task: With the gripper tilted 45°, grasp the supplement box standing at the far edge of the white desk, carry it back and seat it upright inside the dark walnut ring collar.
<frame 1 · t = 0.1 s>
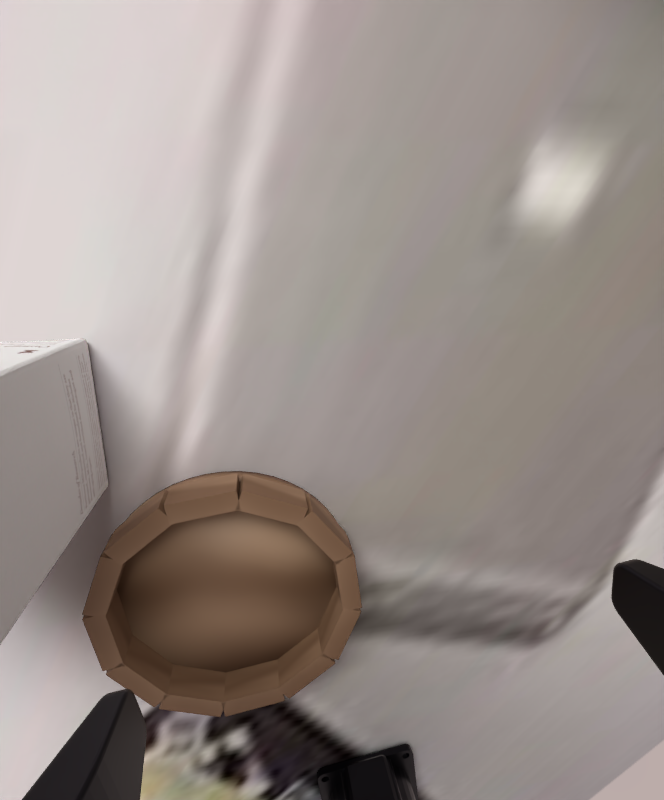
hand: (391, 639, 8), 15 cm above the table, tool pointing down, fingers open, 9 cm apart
supplement box: (15, 416, 20), on the table
walnut collar: (232, 580, 24), on the table
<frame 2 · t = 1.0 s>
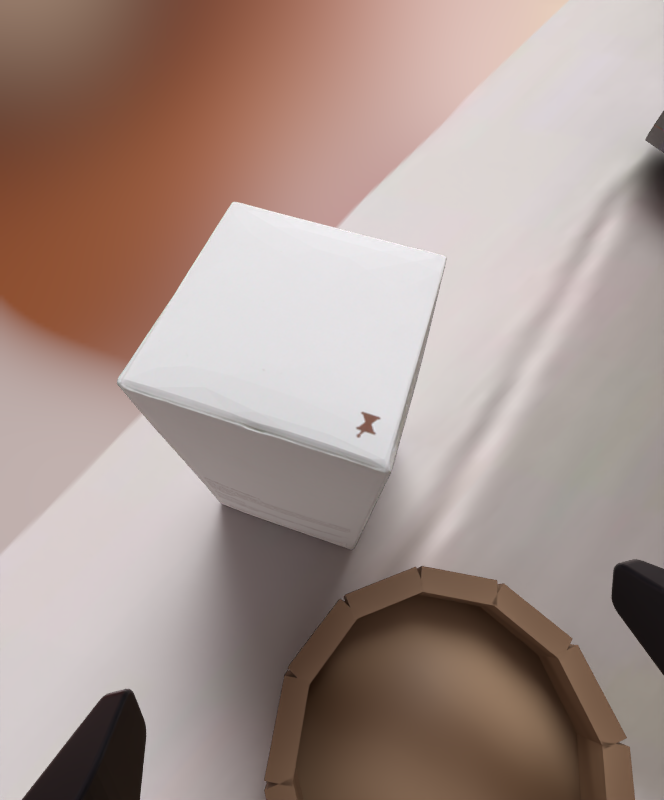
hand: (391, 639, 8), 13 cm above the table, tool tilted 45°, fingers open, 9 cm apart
supplement box: (308, 462, 23), on the table
walnut collar: (435, 745, 18), on the table
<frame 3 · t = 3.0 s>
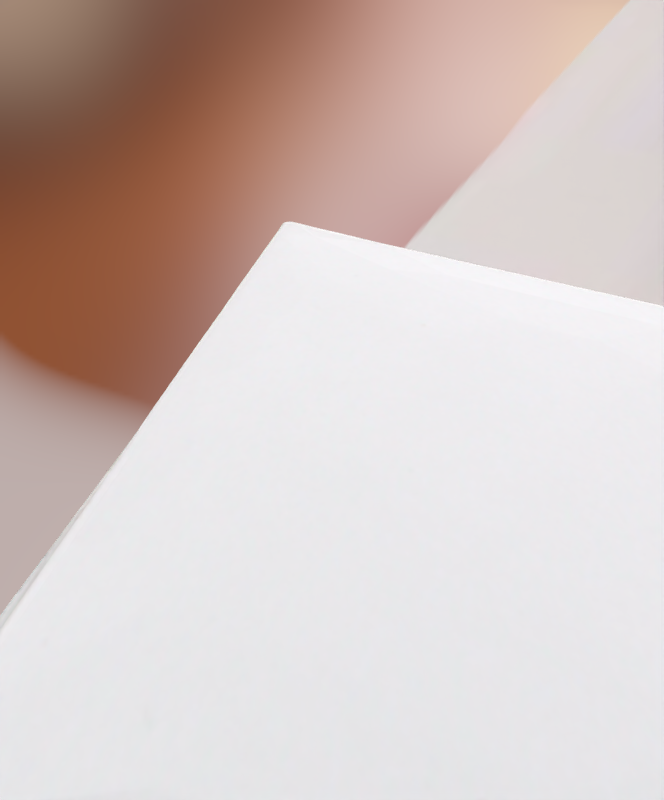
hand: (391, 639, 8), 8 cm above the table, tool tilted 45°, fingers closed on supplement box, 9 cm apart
supplement box: (361, 675, 14), on the table, touching gripper
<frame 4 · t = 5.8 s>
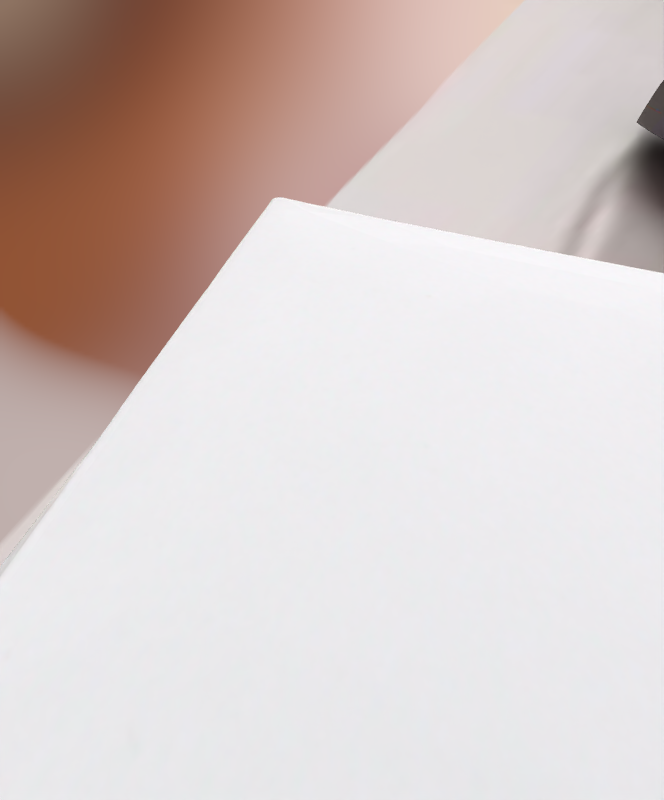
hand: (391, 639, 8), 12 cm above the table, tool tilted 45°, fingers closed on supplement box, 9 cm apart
supplement box: (362, 683, 13), point 5 cm above the table, touching gripper
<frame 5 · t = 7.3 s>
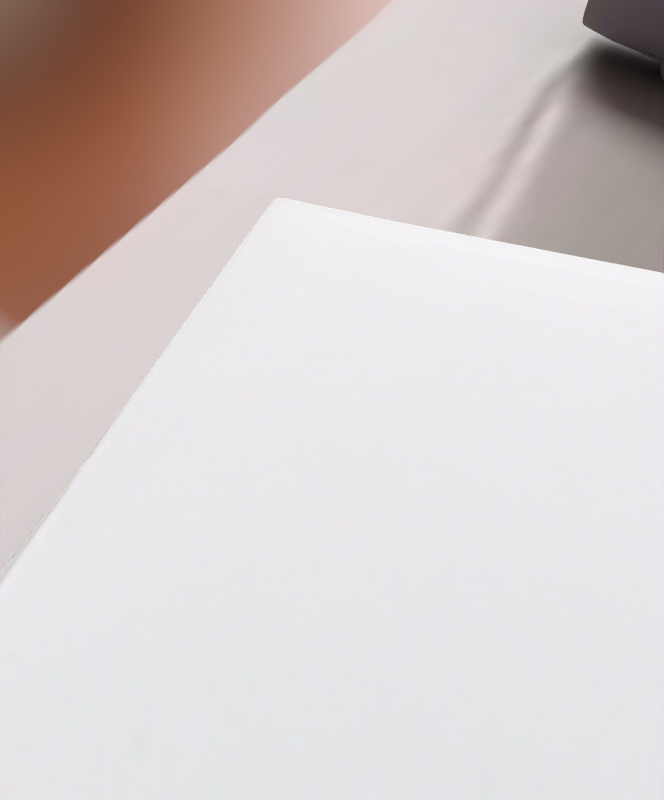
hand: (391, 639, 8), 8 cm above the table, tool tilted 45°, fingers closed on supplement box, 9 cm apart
supplement box: (362, 683, 13), point 1 cm above the table, touching gripper
when the fingers open (8 cm above the table, at t = 8.5 s): supplement box stays where it is, resting on walnut collar.
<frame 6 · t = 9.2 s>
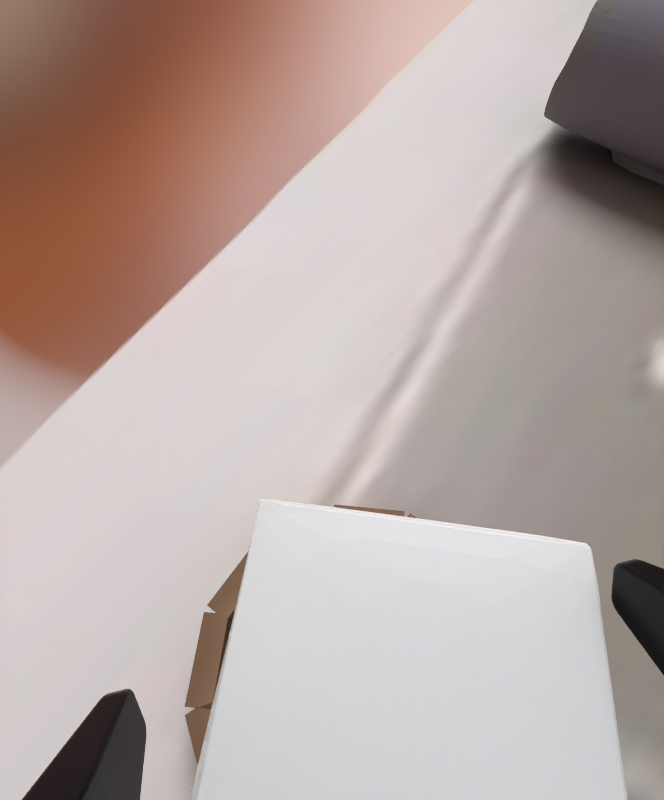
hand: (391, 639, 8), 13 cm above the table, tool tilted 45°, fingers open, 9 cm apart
supplement box: (360, 668, 19), resting on walnut collar
walnut collar: (356, 669, 19), on the table
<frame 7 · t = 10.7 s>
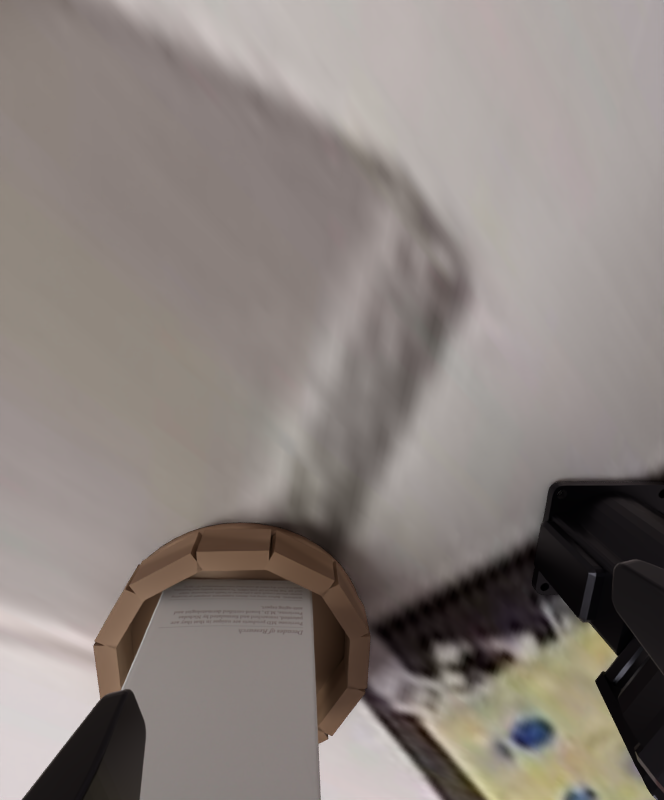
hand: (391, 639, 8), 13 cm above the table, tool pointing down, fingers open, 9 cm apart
supplement box: (239, 633, 23), resting on walnut collar
walnut collar: (242, 630, 24), on the table
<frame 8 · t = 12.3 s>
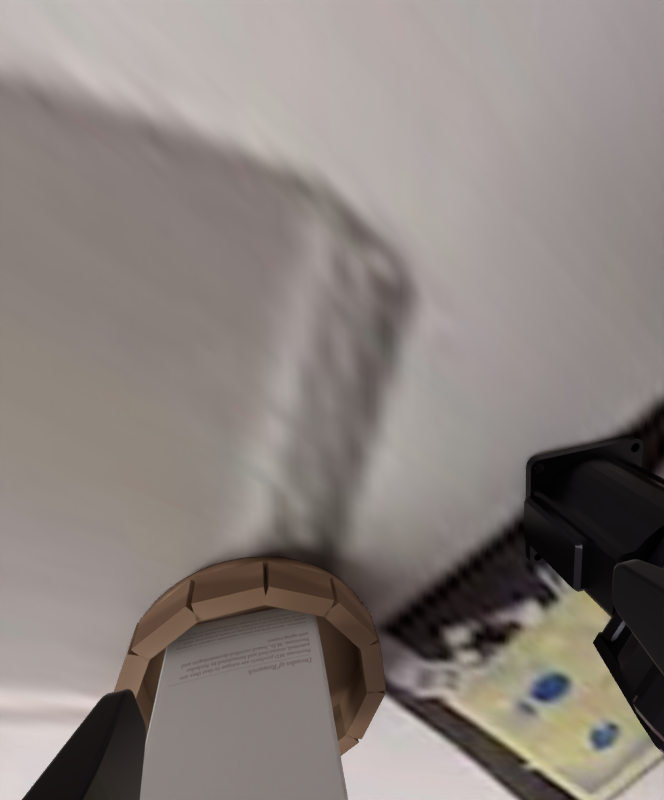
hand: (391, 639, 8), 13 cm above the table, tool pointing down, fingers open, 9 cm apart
supplement box: (253, 663, 23), resting on walnut collar
walnut collar: (255, 659, 24), on the table
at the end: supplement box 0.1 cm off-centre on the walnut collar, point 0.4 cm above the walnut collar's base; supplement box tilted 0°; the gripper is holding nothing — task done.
